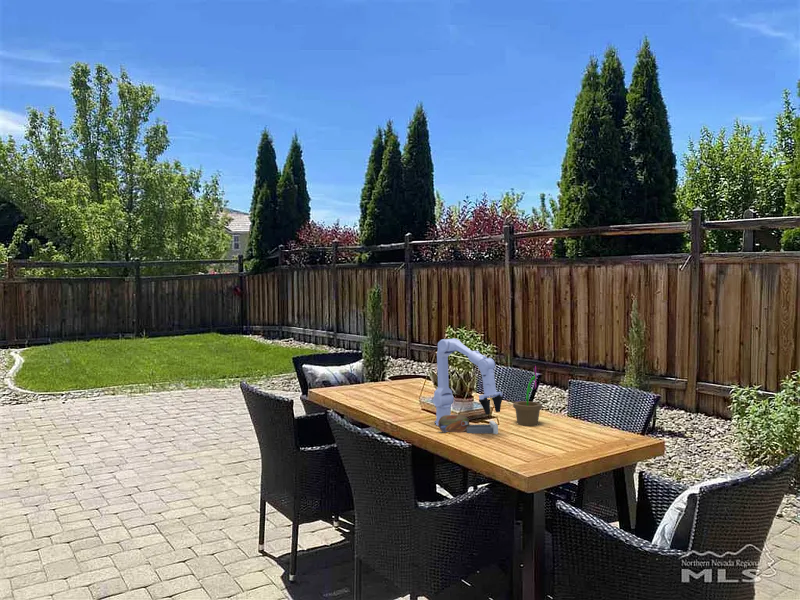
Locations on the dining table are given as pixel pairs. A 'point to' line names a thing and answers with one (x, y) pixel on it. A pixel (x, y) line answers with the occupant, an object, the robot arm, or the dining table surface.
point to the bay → (483, 428)
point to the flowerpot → (528, 409)
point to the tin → (453, 423)
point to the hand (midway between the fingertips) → (492, 413)
